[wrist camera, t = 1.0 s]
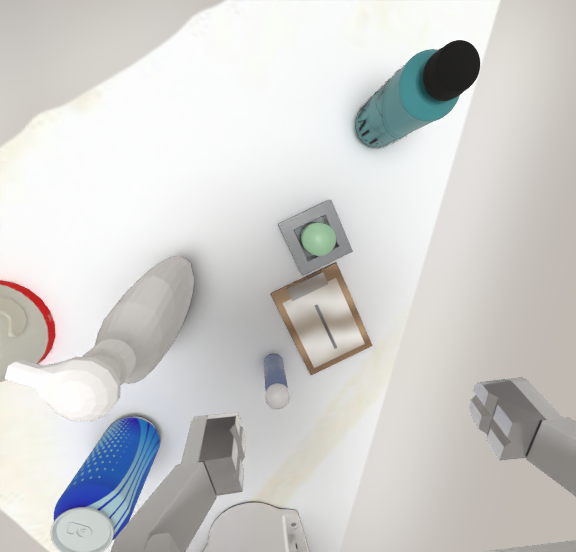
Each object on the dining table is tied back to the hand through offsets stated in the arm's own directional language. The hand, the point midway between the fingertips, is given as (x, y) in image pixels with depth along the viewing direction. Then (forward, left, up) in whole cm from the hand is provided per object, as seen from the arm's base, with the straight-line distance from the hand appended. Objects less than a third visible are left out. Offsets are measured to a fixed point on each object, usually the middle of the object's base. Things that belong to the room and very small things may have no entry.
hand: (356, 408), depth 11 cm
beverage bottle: (+11, -20, -38) cm, 44 cm away
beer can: (-16, +33, -38) cm, 53 cm away
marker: (-15, +8, -37) cm, 41 cm away
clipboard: (-12, -2, -37) cm, 39 cm away
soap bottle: (+2, +17, -38) cm, 41 cm away
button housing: (+1, -6, -37) cm, 38 cm away
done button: (+1, -6, -36) cm, 37 cm away
